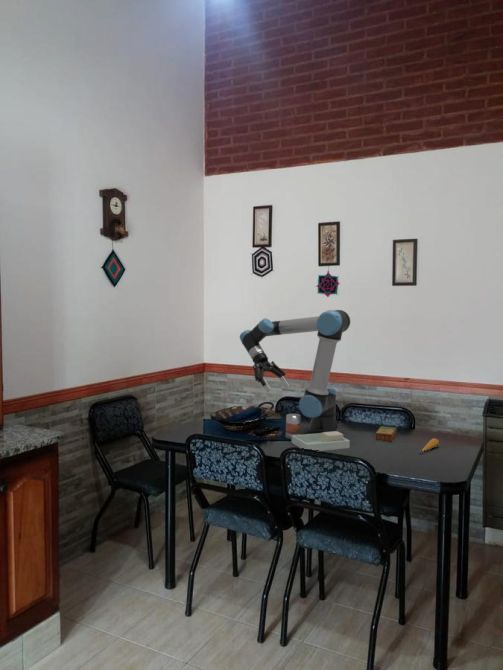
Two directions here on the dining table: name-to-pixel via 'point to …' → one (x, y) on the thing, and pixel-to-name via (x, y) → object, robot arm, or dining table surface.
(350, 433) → the dining table surface
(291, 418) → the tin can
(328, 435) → the beige rectangular block
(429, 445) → the carrot
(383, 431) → the carton
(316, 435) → the tote
